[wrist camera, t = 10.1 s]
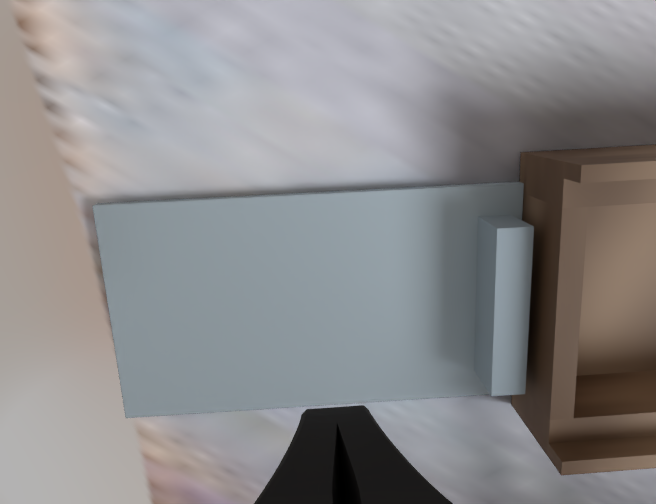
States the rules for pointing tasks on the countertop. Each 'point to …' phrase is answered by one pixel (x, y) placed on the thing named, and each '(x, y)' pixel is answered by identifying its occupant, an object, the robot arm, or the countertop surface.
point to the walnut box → (592, 307)
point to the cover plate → (317, 297)
